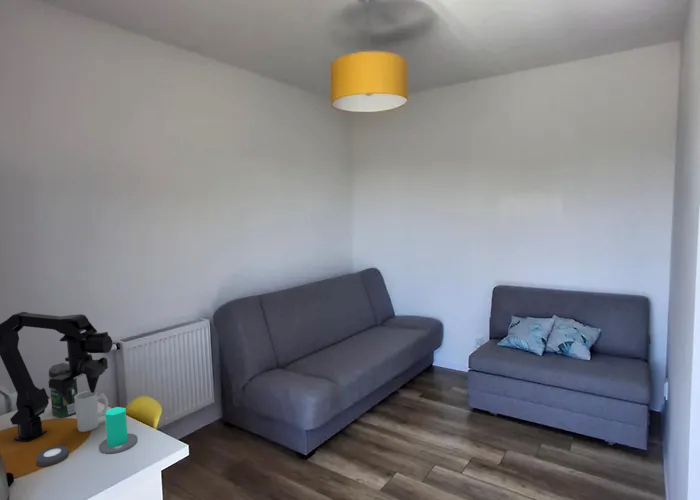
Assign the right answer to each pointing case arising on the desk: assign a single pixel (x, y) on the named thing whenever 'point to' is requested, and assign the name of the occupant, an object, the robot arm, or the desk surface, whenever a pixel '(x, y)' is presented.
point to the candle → (116, 426)
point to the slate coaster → (111, 450)
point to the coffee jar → (57, 400)
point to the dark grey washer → (52, 456)
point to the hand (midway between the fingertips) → (81, 398)
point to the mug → (88, 410)
